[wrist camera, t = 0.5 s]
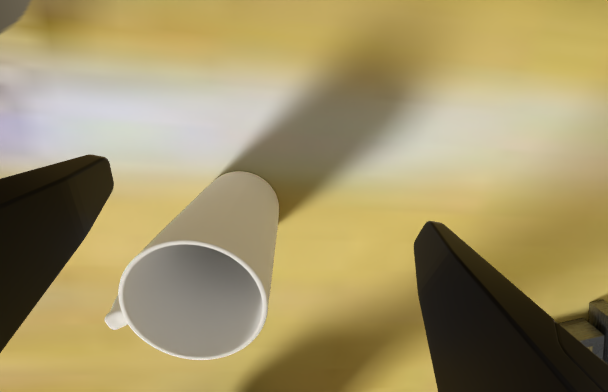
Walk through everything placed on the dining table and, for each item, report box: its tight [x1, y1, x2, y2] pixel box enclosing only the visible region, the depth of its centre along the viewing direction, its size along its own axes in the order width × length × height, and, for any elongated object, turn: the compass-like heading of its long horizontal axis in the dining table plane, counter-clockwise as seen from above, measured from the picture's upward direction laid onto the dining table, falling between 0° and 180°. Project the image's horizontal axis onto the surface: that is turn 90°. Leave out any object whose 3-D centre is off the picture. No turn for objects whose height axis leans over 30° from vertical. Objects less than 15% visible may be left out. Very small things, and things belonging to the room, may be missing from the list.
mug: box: [105, 171, 279, 360], centre depth 20 cm, size 10×7×12 cm, turn 113°
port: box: [559, 300, 608, 364], centre depth 28 cm, size 10×12×6 cm
